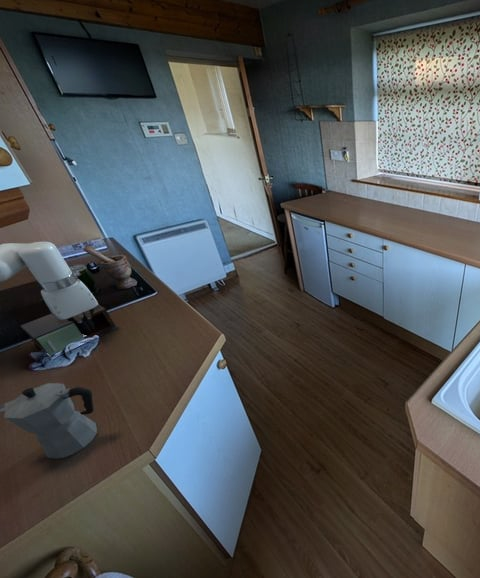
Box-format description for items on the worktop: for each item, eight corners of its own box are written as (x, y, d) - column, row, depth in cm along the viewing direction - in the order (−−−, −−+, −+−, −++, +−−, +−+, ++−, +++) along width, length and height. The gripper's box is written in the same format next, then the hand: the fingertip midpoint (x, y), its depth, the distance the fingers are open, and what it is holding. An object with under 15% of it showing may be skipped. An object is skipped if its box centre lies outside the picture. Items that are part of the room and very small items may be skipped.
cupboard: (52, 359, 92) (36, 340, 88) (35, 344, 98) (20, 325, 94) (119, 328, 105) (108, 310, 101) (100, 316, 111) (89, 298, 107)
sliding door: (51, 357, 92) (38, 340, 88) (49, 355, 92) (35, 338, 89) (86, 341, 98) (75, 324, 94) (84, 339, 99) (73, 323, 95)
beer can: (100, 287, 129) (86, 263, 122) (98, 293, 125) (83, 268, 119) (84, 291, 126) (69, 266, 120) (82, 296, 122) (66, 271, 116)
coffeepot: (25, 469, 64) (-35, 419, 55) (49, 432, 72) (-1, 382, 62) (111, 445, 69) (69, 395, 60) (125, 412, 76) (89, 363, 67)
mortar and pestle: (106, 295, 124) (81, 251, 113) (105, 286, 129) (81, 245, 119) (139, 286, 130) (118, 244, 120) (137, 278, 136) (117, 238, 125)
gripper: (84, 269, 96) (111, 314, 106) (19, 290, 85) (56, 338, 95) (94, 275, 93) (121, 320, 103) (29, 297, 82) (66, 346, 91)
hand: (90, 328), depth 98 cm, fingers closed
